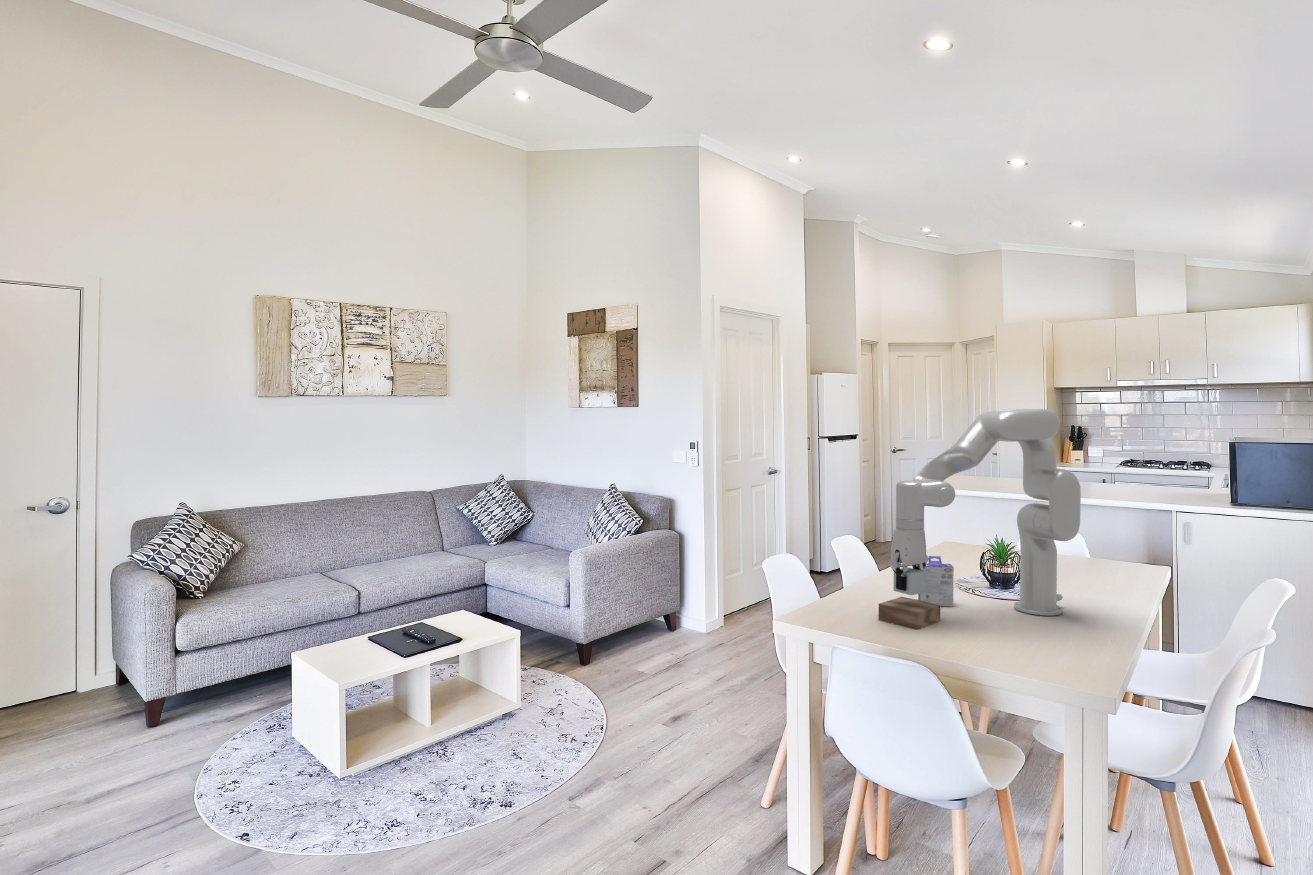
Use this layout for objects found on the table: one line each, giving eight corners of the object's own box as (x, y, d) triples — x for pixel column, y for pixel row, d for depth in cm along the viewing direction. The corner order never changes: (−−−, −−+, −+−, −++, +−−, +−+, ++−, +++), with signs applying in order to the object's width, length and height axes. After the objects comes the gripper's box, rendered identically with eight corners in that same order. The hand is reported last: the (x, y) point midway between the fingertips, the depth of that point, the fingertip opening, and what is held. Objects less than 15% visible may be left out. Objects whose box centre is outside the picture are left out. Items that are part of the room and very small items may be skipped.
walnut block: (901, 613, 207) (901, 596, 207) (940, 622, 198) (940, 604, 198) (878, 621, 200) (878, 603, 199) (917, 631, 190) (917, 612, 190)
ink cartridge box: (950, 602, 217) (950, 555, 217) (954, 607, 212) (954, 559, 211) (917, 600, 219) (917, 554, 219) (920, 605, 214) (920, 558, 213)
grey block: (907, 588, 202) (907, 567, 202) (925, 592, 197) (925, 571, 197) (893, 590, 199) (893, 569, 199) (911, 595, 194) (911, 573, 194)
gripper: (918, 520, 205) (917, 581, 206) (878, 525, 196) (877, 589, 197) (940, 523, 199) (940, 586, 200) (900, 529, 190) (899, 595, 191)
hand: (909, 587), depth 198 cm, fingers closed on grey block, 6 cm apart
